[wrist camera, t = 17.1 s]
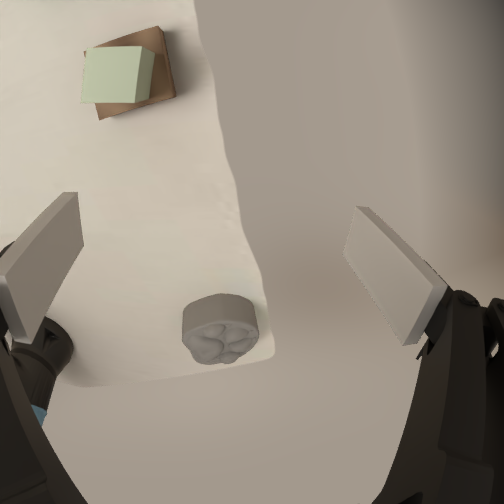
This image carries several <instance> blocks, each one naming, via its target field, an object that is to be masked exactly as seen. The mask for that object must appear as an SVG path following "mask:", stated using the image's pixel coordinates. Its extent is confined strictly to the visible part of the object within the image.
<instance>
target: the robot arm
mask: <svg viewBox="0 0 504 504" xmlns="http://www.w3.org/2000/svg"><path fill="white" fill-rule="evenodd" d="M83 246H84V242H83V235H82V228H81V220H80V212H79V202H78V192H63V193H62V194H61V195H60V196H59V197H58V198H57V199H56V200H55V201H54V202H53V203H52V204H51V205H49V206H48V207H47V208H46V209H45V210H44V211H43V212H42V213H41V214H40V215H39V216H38V217H37V218H36V219H35V220H34V221H33V222H32V224H31V225H30V226H29V227H28V228H27V229H26V230H25V231H24V232H23V233H22V234H21V235H20V236H19V237H18V238H17V240H16V241H14V242H12V243H11V244H9V245H8V246H6V247H5V248H4V249H3V250H2V251H1V252H0V504H88V503H87V502H86V500H85V499H84V498H83V497H82V495H81V493H80V492H79V490H78V489H77V488H76V486H75V484H74V483H73V481H72V480H71V478H70V477H69V475H68V474H67V472H66V470H65V469H64V467H63V465H62V464H61V462H60V460H59V459H58V457H57V455H56V453H55V452H54V450H53V448H52V446H51V445H50V443H49V441H48V439H47V437H46V435H45V433H44V431H43V429H42V424H43V421H44V418H45V416H46V415H47V409H48V405H49V401H50V398H51V394H52V391H53V387H54V384H55V381H56V378H57V376H58V375H59V373H60V372H61V371H62V370H63V368H64V367H65V366H66V365H67V364H68V363H69V361H70V359H71V356H72V353H73V344H72V341H71V339H70V337H69V336H68V334H67V333H66V332H65V331H64V330H63V329H62V328H61V327H60V326H59V325H58V324H56V323H55V322H54V321H52V320H50V319H48V318H46V317H44V316H45V314H46V312H47V310H48V308H49V307H50V305H51V303H52V301H53V299H54V297H55V295H56V293H57V291H58V289H59V288H60V286H61V284H62V282H63V280H64V279H65V277H66V275H67V273H68V271H69V270H70V268H71V266H72V265H73V263H74V261H75V259H76V258H77V256H78V254H79V253H80V251H81V249H82V248H83ZM343 256H344V257H345V259H346V260H347V262H348V263H349V264H350V266H351V267H352V269H353V270H354V272H355V273H356V275H357V276H358V278H359V279H360V281H361V282H362V284H363V285H364V287H365V288H366V290H367V291H368V292H369V294H370V295H371V297H372V299H373V300H374V302H375V303H376V305H377V306H378V308H379V309H380V311H381V312H382V314H383V316H384V317H385V319H386V320H387V322H388V323H389V325H390V326H391V328H392V330H393V331H394V333H395V334H396V336H397V338H398V339H399V341H400V342H401V344H402V346H404V345H410V344H417V343H418V341H419V339H420V338H421V336H422V334H423V333H424V332H425V333H426V335H427V336H428V337H429V338H428V339H427V341H426V343H425V344H424V346H423V348H422V349H421V351H420V353H419V354H418V356H417V358H416V359H417V360H418V359H419V358H420V356H422V360H421V365H420V370H419V375H418V379H417V383H416V387H415V392H414V396H413V400H412V403H411V407H410V411H409V414H408V418H407V421H406V425H405V428H404V431H403V435H402V438H401V441H400V444H399V447H398V450H397V453H396V456H395V459H394V461H393V464H392V467H391V470H390V472H389V475H388V478H387V480H386V483H385V485H384V487H383V489H382V491H381V493H380V494H379V495H378V496H377V498H376V499H375V500H374V501H373V502H372V504H504V300H502V299H499V298H493V299H492V301H491V302H490V304H489V306H488V308H486V307H481V306H480V304H479V302H478V300H476V298H475V297H473V296H472V295H471V294H469V293H467V292H465V291H462V290H456V291H453V290H452V289H451V288H450V286H449V285H448V284H447V283H446V282H445V281H444V280H443V279H442V278H441V277H440V276H439V275H437V273H436V271H435V270H434V269H432V267H431V266H430V265H429V264H428V263H427V262H426V261H425V260H423V259H422V258H421V257H420V256H419V255H418V254H417V253H416V252H415V251H414V250H413V249H412V248H411V247H410V246H409V245H408V244H407V243H406V242H405V241H404V240H403V239H402V238H401V237H400V236H399V235H398V234H397V233H396V232H395V231H394V230H392V228H390V227H389V226H388V225H387V224H386V223H385V222H384V221H383V220H382V219H381V218H380V217H379V216H378V215H376V214H375V213H374V212H373V211H372V210H371V209H370V208H368V207H360V206H356V207H355V211H354V215H353V218H352V222H351V226H350V230H349V233H348V237H347V240H346V244H345V247H344V251H343ZM8 329H9V331H10V333H11V335H12V346H11V351H10V349H9V346H8V343H7V341H6V339H5V337H4V336H5V334H6V332H7V330H8ZM497 343H498V345H499V347H498V352H497V353H496V354H495V356H494V357H492V355H491V352H492V351H493V349H494V348H495V346H496V345H497Z"/></svg>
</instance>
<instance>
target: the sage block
mask: <svg viewBox="0 0 504 504" xmlns="http://www.w3.org/2000/svg"><path fill="white" fill-rule="evenodd" d="M154 58H155V53H154V52H152V51H150V50H148V49H146V48H144V47H143V46H120V47H98V48H87V50H86V57H85V65H84V73H83V83H82V94H81V103H136V102H139V101H143V100H147V99H149V94H150V86H151V78H152V71H153V64H154Z"/></svg>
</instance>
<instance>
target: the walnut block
mask: <svg viewBox="0 0 504 504" xmlns="http://www.w3.org/2000/svg"><path fill="white" fill-rule="evenodd" d="M120 46H143V47H144V48H146V49H148V50H150V51H152V52H154V53H155V58H154V64H153V71H152V78H151V86H150V94H149V99H147V100H143V101H139V102H136V103H95V105H96V109H97V113H98V117H99V120H102V119H105V118H108V117H110V116H113V115H116V114H119V113H122V112H125V111H128V110H131V109H135V108H138V107H141V106H145V105H148V104H151V103H155V102H158V101H162V100H166V99H170V98H173V97H176V91H175V87H174V82H173V78H172V73H171V68H170V63H169V58H168V54H167V49H166V44H165V39H164V34H163V31H162V30H161V29H160V27H159V26H155V27H152V28H148V29H145V30H142V31H139V32H135V33H132V34H129V35H126V36H123V37H120V38H117V39H115V40H112V41H109V42H106V43H104V44H101V45H99V46H96V47H93V48H98V47H120ZM84 55H85V57H86V51H84Z"/></svg>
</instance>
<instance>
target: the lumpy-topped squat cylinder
mask: <svg viewBox="0 0 504 504" xmlns="http://www.w3.org/2000/svg"><path fill="white" fill-rule="evenodd" d="M258 338H259V330H258V325H257V320H256V316H255V311H254V307H253V304H252V303H251V302H250V301H249V300H248V299H246V298H244V297H242V296H239V295H233V294H215V295H211V296H208V297H205V298H202V299H199V300H197V301H194V302H192V303H190V304H188V305H187V306H186V307H185V309H184V311H183V324H182V342H183V344H184V345H185V346H186V347H187V348H188V349H189V350H190V352H191V354H192V356H193V358H194V360H195V361H196V362H198V363H201V364H207V365H211V364H217V363H224V364H230V363H233V362H235V361H236V360H237V359H238V358H239V357H241V356H243V355H244V354H245V353H247V352H248V351H249V350H251V349H252V348H253V347H254V345H255V344H256V342H257V340H258Z"/></svg>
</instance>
